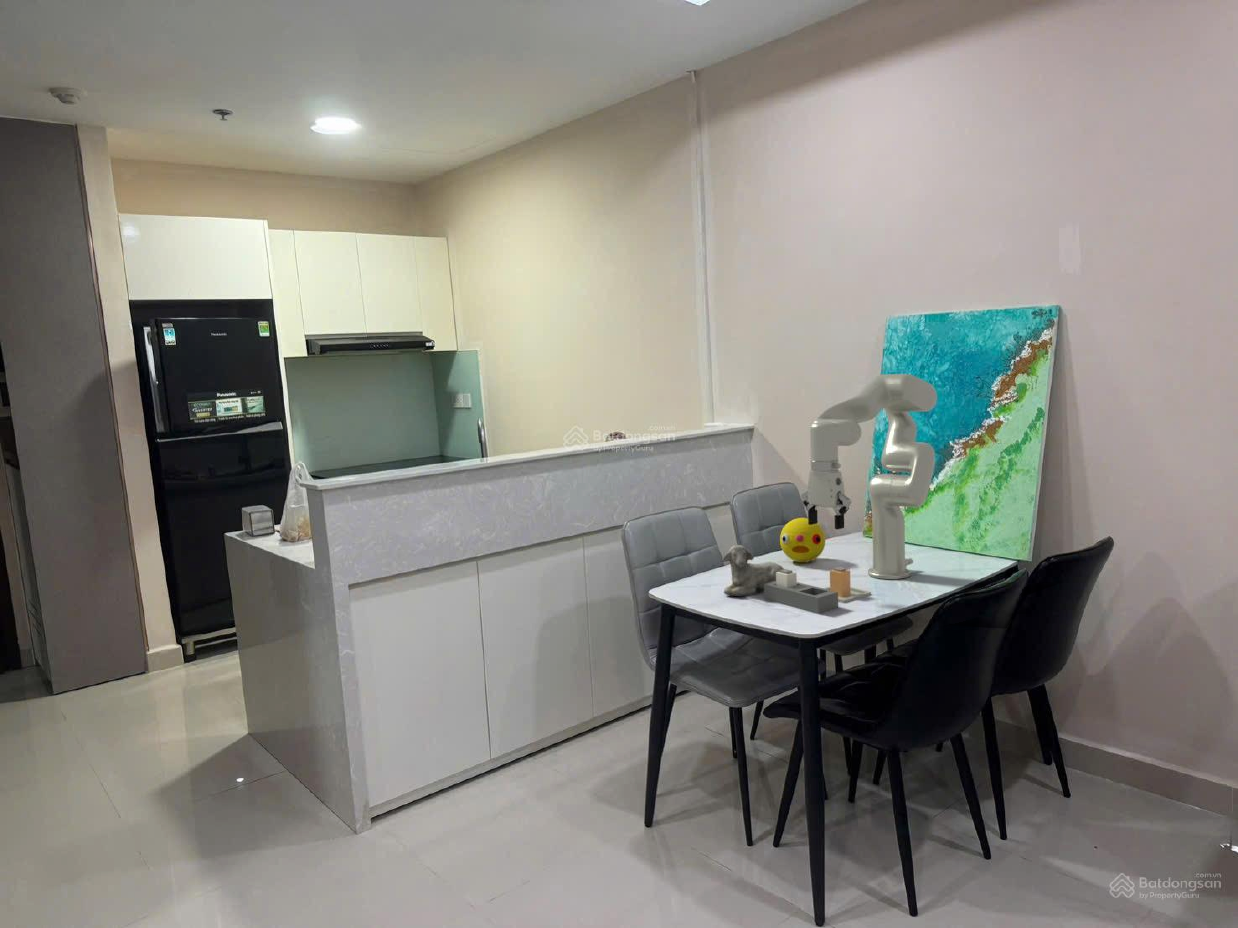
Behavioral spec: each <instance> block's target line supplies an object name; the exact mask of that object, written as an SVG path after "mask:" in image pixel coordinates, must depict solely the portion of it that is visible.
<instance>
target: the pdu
mask: <svg viewBox="0 0 1238 928" xmlns="http://www.w3.org/2000/svg"><path fill="white" fill-rule="evenodd" d="M797 579H798V578H797V571H793V570H792V569H788V568H784V570H780V572H776V581H773V582H769V583H766V584H764V592H763V599H764V600H765V601H770V602H774V603H776V604H780V605H784V606H787V607H791V608H794V609H798V610H801V611H805V612H810V613H812V614H816V615H820V614H824V613H826V612H827V613H828V612H830V611H832V610H833V611H834V610H836V609H839V602H838V592H836V591H832V590H828V589H823V588H824V587H819V586H815V585H811V584H806V583H802V582H798V581H797Z"/></svg>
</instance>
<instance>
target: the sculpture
mask: <svg viewBox="0 0 1238 928" xmlns="http://www.w3.org/2000/svg"><path fill="white" fill-rule="evenodd" d="M754 558H755V557H754V555H753V553H752V552H751V551H750V550H748V549H747V548H746V547H744V546H743V545H741V544H736V545H732V546H731V547H730V548H729V550H728V551H727V552H726V553H725V554H724V555H723V557H722V559H721V562H723V563H725V562H729V563H730V569H731V570H730V571H731V581H732V583H731V585H729V586H727V587H725V588H724V589H723V594H725V596H733V597H744V596H751V595H758V594H761V593H764V584H766V583H769V582H773V581H776V572H780V570H784V569H785V568H784V567H783V566H782V565H780V564H778V563H776V562H772V561H767V562H760V563H759V562H758V563H751V562H748V561H753V560H754Z"/></svg>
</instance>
